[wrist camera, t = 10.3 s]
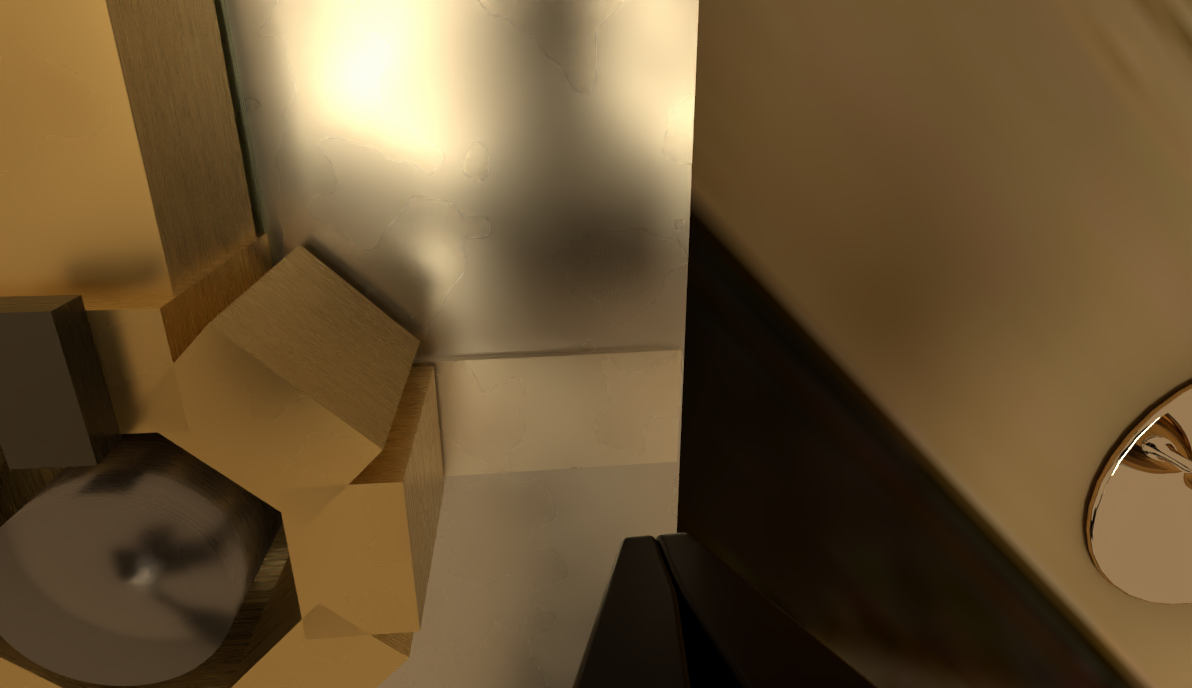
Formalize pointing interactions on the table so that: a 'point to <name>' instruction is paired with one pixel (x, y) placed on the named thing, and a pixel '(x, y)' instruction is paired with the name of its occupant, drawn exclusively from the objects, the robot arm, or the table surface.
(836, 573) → the table surface
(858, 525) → the table surface
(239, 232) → the octagonal ring with handle
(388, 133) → the post base
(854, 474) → the table surface
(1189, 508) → the wineglass
